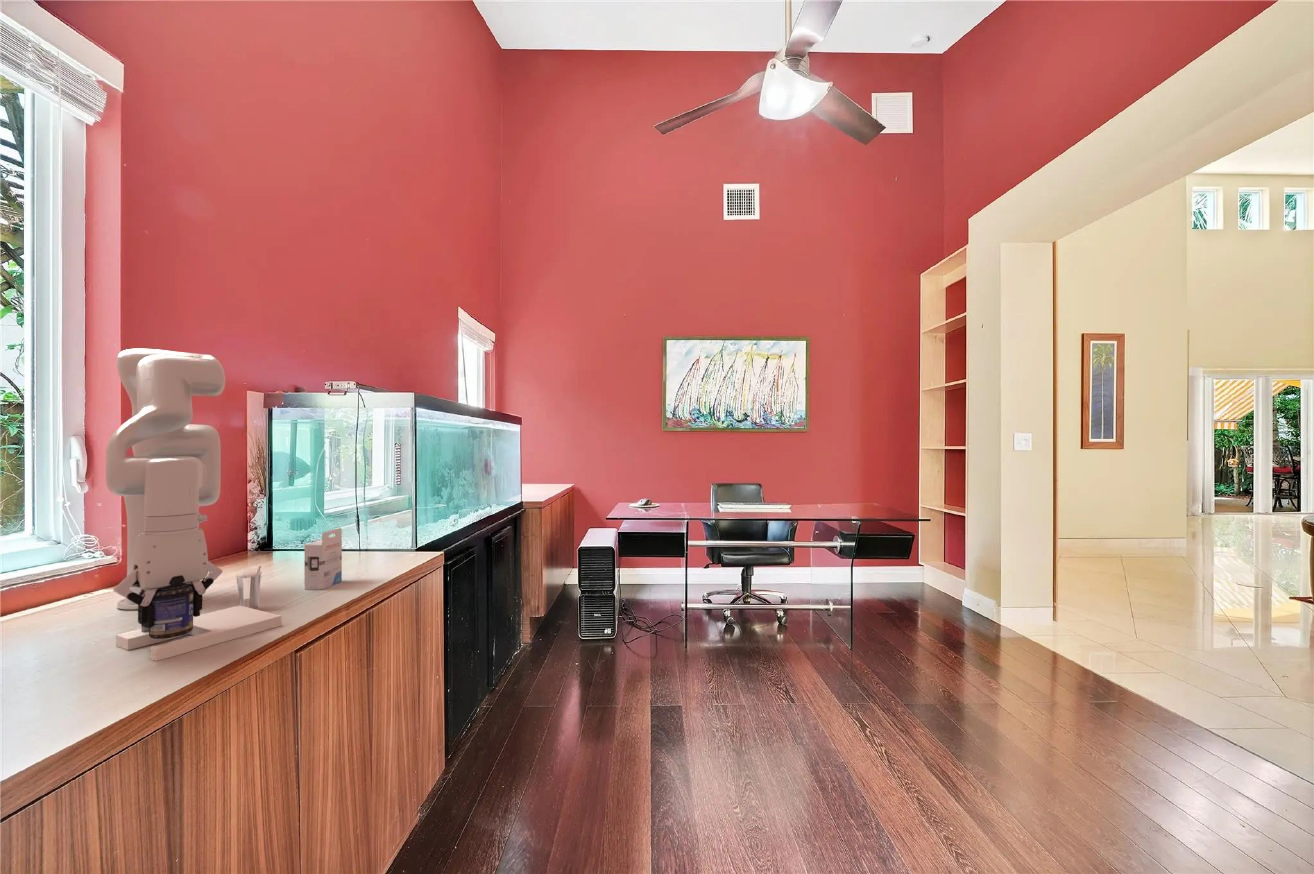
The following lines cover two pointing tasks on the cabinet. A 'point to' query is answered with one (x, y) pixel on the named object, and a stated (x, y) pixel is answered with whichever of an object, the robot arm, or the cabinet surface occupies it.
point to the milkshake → (249, 587)
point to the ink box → (323, 561)
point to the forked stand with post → (204, 631)
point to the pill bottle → (172, 609)
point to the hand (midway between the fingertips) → (171, 620)
